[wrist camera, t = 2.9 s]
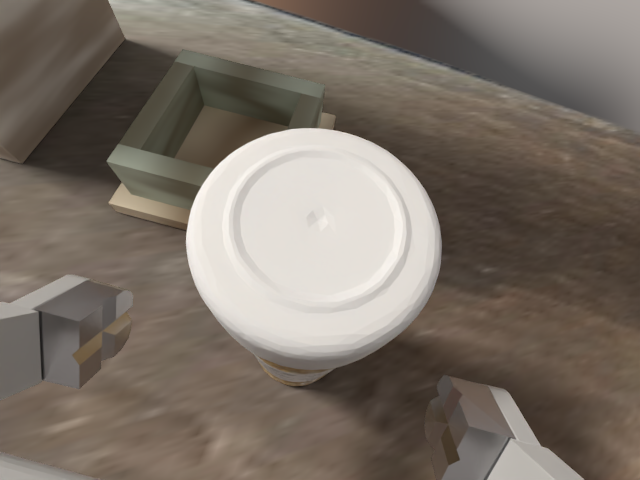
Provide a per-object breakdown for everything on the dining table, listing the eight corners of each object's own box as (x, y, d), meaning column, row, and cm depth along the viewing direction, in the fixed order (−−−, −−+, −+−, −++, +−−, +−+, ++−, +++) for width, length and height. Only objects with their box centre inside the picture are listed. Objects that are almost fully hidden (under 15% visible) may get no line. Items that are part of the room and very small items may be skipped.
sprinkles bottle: (320, 288, 19) (378, 96, 7) (353, 366, 17) (505, 292, 5) (242, 317, 18) (152, 150, 6) (270, 404, 16) (223, 418, 4)
